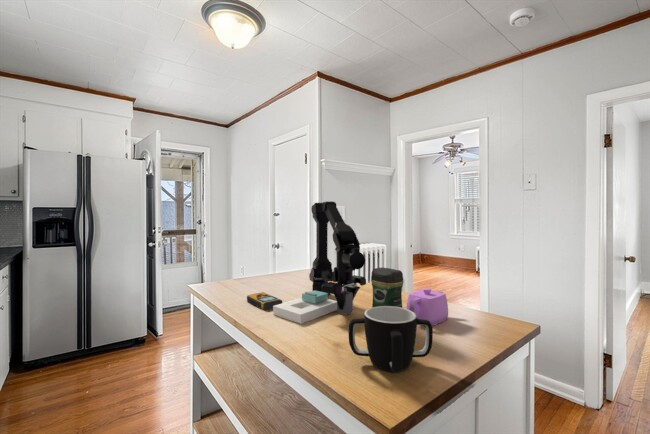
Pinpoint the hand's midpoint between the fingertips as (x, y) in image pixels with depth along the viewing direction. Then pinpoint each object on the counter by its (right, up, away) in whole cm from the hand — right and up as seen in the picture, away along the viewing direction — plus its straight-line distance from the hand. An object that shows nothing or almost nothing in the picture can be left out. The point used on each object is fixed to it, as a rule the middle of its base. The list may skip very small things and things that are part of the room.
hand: (344, 308), depth 112 cm
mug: (+8, -3, -37) cm, 38 cm away
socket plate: (-14, -2, +1) cm, 14 cm away
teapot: (+27, -2, -7) cm, 28 cm away
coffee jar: (+12, -2, -15) cm, 19 cm away
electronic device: (-31, -2, +12) cm, 33 cm away
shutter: (-11, +2, +4) cm, 12 cm away
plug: (0, -2, 0) cm, 2 cm away
